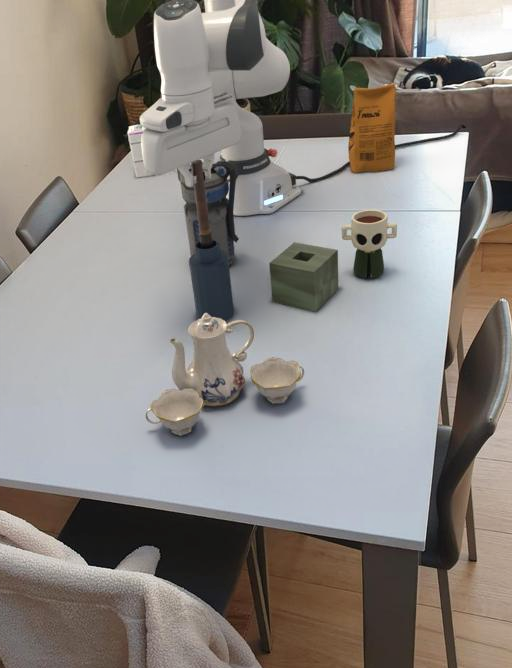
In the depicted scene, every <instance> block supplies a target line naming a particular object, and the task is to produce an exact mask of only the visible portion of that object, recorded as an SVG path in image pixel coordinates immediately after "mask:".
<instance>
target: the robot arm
mask: <svg viewBox="0 0 512 668" xmlns="http://www.w3.org/2000/svg"><path fill="white" fill-rule="evenodd" d="M203 4H204V11H205V12H202V10H201V7H200V4H199V2H198V1H196V0H169V1H168V2H167V1H166V2H165V3H163V4H161V5H160V6H158V7H157V8H156V9H155V11H154V14H153V40H154V41H153V43H154V53H155V61H156V67H157V69H158V71H159V74H160V79H161V84H160V95H161V97H160V98H159V99H157V101H156V102H154V104H152V105H151V106H150V107H149V108H147V109H146V110H145V111H144V112H142V113H141V115H140V116H139V124H141V126H142V127H144V128H146V129H145V130H144V131H143V133H142V138H141V145H142V155H143V162H144V166H145V169H146V170H147V171H148V172H150V173H152V174H154V176H163V175H164V174H167V173H169V172H170V173H171V172H172V171H175V170H177V168H178V170H179V171H180V172H181V174H182V175H183V176H184V178H185V184H186V186H189V187H191V186H194V185H196V184H197V181H196V180H197V177H196V175H193V174H191V173H190V172H189V170H188V169H190V168H191V167H190V165H191V162H194V161H196V160H201V159H202V160H203V161H202V162H203V165H202V168H203V176H204V181H205V180H208V179H210V178H211V168H212V165H213V164H214V163H215V154H217V153H218V152H220V156H219V161H224V162H229V163H230V164H232V165H233V166H234V167H235V170H236V185H235V197H234V209H233V215H234V216H239V217H241V216H242V217H243V216H244V217H245V216H254V215H270V214H273V213H275V212H277V210H279V209H280V208H282V207H284V206H285V205H286V204H288V203H289V202H291V201H292V200H294V199H295V198H297V197H298V196H300V195H301V194H302V189H301V188H300V187H299V186H297V180H304V181H307V182H308V183H316V182H320V181H322V180H326V179H328V178H330V177H332V176H334V175H337V174H339V173H341V172H342V171H343V170H345V169H346V168H348V166H350V161H348V162H346V163H345V164H343V165H342V166H341V167H339V168H337V169H335V170H333V171H331V172H329V173H328V174H325V175H322V176H319V177H315V178H310V177H308V176H305V175H296V174H294V173H292V172H289V171H287V169H285V168H284V167H281V166H280V165H279V164H276V163H274V162H273V161H271V159H270V157H271V158H276V157H277V156H278V150H277V149H275V148H269V149H267V148H265V142H264V128H263V127H264V126H263V122H262V120H261V119H260V117H259V116H258V115H256V114H255V113H253V112H252V111H249V110H246V109H244V108H242V106H240V105H239V104H238V102H237V101H236V100H240V99H250V98H261V97H266V96H269V95H273V94H276V93H279V92H282V91H283V90H284V89H285V87H286V86H287V84H288V82H289V80H290V75H291V65H290V64H291V63H290V60H289V58H288V56H287V55H286V53H285V52H284V51H283V50H282V49H281V48H280V47H278V46H276V45H275V44H274V43H273V42H271V41H270V40H269V39H268V38H267V35H266V30H265V25H264V22H263V19H262V17H261V14H260V12H259V7H258V0H203ZM466 128H467V127H466V125H465V124H463V123H461V124H459V125H458V126H457V128H456V129H455V130H454V132H451V133H449V134H446V135H441V136H436V137H430V138H424V139H419V140H413V141H408V142H403V143H398V144H395V149H399V148H401V147H407V146H408V147H409V146H413V145H418V144H423V143H424V144H425V143H429V142H436V141H441V140H442V141H443V140H446V139H450V138H452V137H455V136H456V135H457V134H458V133H459V132H460V131H461V129H466ZM227 179H228V184H229V187H230V175H229V176H228V178H227ZM226 198H227V199H228V200H229V191H228V194H227V196H226Z"/></svg>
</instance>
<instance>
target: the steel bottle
mask: <svg viewBox="0 0 512 668" xmlns="http://www.w3.org/2000/svg"><path fill="white" fill-rule="evenodd" d="M212 240H213V247H212V248H209V249H201V245H200V241H198V242H196V243H195V245H194V250H195V254H193V255H192V256H191V255H190V257H189V258H188V265H189V272H190V279H191V284H192V285H191V286H192V293H193V300H194V306H195V314H196V318H197V320H198V319H201V318H202V316H203V315H204V313H208V314H209V315H210V316H211V317H216V318H221V319H222V320H224V321H226V322H229V320H231V319H232V318H233V317H234V315H235V308H234V299H233V297H234V296H233V289H232V281H231V280H232V279H231V272H230V266H229V261H228V255H227V253H226V252H224V251H222V250H220V246H219V242H218V240H215V239H212Z"/></svg>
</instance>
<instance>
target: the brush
mask: <svg viewBox="0 0 512 668" xmlns="http://www.w3.org/2000/svg"><path fill="white" fill-rule="evenodd" d="M202 162H203V161H202V160H201V159H199V160H196V161H194V162H191V163H190V165H191V169H192V174H193V175H196V177H197V180H196V181H197V184H196V185H194V191H195V199H196V206H197V214H198V222H199V231H200V232H199V237H200V245H201V249H209V248H212V247H213V240H212V232H211V231H210V225H209V216H208V208H207V200H206V192H205V184H204V176H203V168H202Z"/></svg>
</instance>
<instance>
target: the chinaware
mask: <svg viewBox="0 0 512 668" xmlns="http://www.w3.org/2000/svg"><path fill="white" fill-rule="evenodd" d="M235 325H245V326H247V328H248V330H249V336H248V340H247V342H246V343H245V344H244V346H243V347H241V348H240V349H239V350H237V351H235V352H234V353H233V354H232V353H231V351H230V350H229V347H228V346H227V345H228V344H227V340H226V334H233V333H234V329H233V327H232V326H235ZM187 329H188V333H189V335H190V336H191V339H192V341H193V348H194V349H193V350H194V351H193V356H192V360H191V362H190V364H189V366H188V368H187V369H186V353H185V346H184V344H183V343H182V341H181V340H179V339H177V338H170V339H169V340H168V343H171V344H172V345H173V346H174V348H175V350H174V357H173V362H172V363H173V364H172V368H171V378H172V381H173V383H174V386H176V387H177V389H175V388H170V389H169V388H168V389H165V390H164V391H163V392H162V393H160V395H159V397H158V398H157V399H154V400H153V401H152V403H151V404H150V408H148V409H147V410H146V412H145V419H146V421H147V422H148V423H150V424H153V425H157V424H159V423H161V425H162V427H163V428H166V429H168V430H170V431H171V433H172V434H174V435H178V436H181V437H182V436H184V435H186V434H189V433H191V432H192V428H193V427H194V426H195V425H196V423H197V421H198V419H199V418H200V413H201V410H202V409H203V407H204V406H205V407H211V408H213V407H223V406H225V405H229V404H230V403H233V402H234V401H235V400H236V399H237V398H239V396H240V395H241V390H242V388H244V386H245V385H246V378H245V375H244V367H243V366H242V364H241V363H240V362H245V361H246V360H247V358H248V353H247V352H246V351H247V350H248V349H249V348H250V346H251V345H252V343H253V341H254V339H255V331H254V327H253V325H252V324H250V323H249V322H248V321H246V320H244V319H236V320H232V321H230V322H228V323H227V321H224V320H222V319H221V318H216V317H211V316H210V315H209V314H208V313H204V315H203V316H202V318H201V319H198V318H197V320H195V321H193V322H192V323H191V324H190V325H188V328H187ZM304 376H305V369H304V368H303V367H302V366H301V365H299V363H298V361H294V360H284V359H283V358H281V357H274V356H273V357H270V358H267V359H266V360H264V361H263V362H262V363H256V364H254V365H252V366H251V368H250V380H251V383H252V384H253V385H254V386H255V387H256V388H257V390H258V392H259V393H260V394H261V395H262V396H263V397H265V398H266V399H267V401H268V402H270V403H271V404H283V403H285V402H286V401H287V399H288V398H289V396H291V394H292V393H293V392H294V391H295V388H296V387H297V383H299V382H301V380H302V379H303V377H304ZM149 412H152V413H153V414H154V416H155V417H156V418H157V419H158V421H153V420H151V419H149V417H148V413H149Z"/></svg>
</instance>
